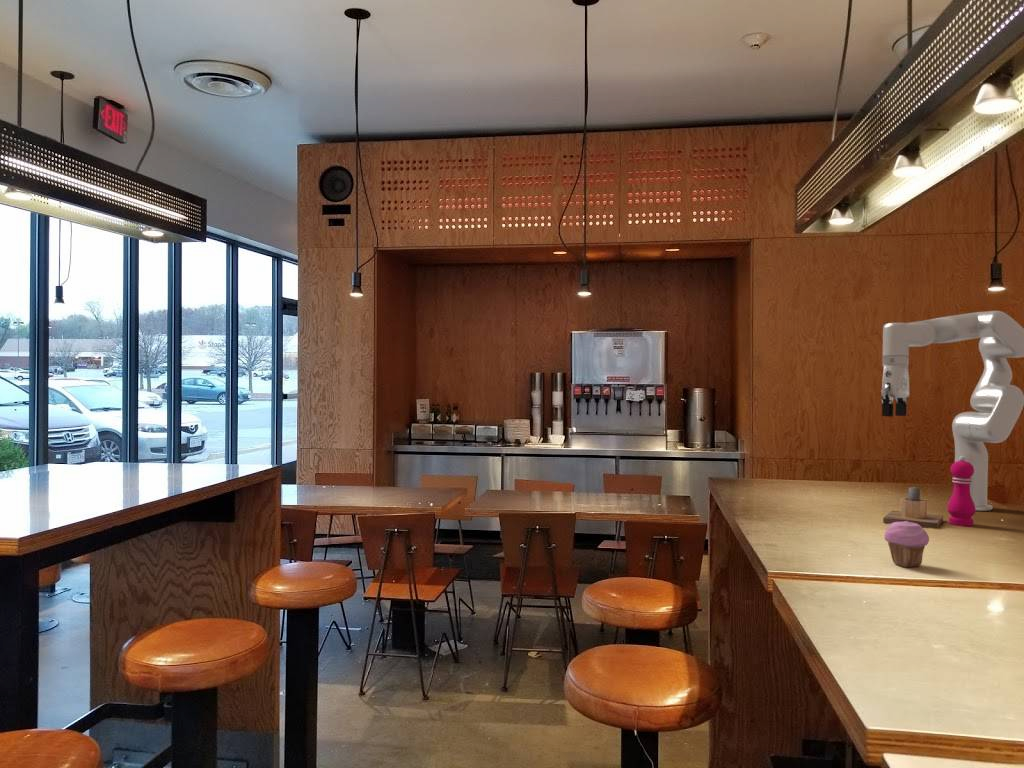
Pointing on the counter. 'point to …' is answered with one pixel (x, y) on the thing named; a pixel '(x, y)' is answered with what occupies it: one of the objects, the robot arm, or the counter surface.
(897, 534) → the cupcake
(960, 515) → the pepper mill
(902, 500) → the pale wooden collar
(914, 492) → the keyed shaft block
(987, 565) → the counter surface
